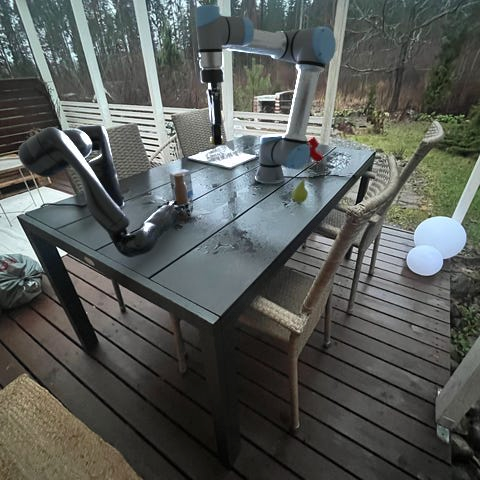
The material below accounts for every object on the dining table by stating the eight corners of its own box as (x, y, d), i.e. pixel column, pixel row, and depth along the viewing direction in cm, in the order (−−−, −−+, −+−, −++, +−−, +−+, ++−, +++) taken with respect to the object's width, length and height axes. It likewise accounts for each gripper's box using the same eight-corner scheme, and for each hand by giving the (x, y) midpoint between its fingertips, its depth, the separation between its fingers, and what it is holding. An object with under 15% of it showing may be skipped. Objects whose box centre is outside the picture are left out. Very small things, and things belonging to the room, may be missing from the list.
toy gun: (326, 156, 168) (314, 136, 164) (326, 158, 165) (313, 137, 161) (301, 172, 178) (289, 152, 174) (300, 174, 175) (288, 154, 171)
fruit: (288, 200, 123) (290, 174, 116) (302, 197, 125) (305, 172, 119) (296, 206, 118) (299, 179, 111) (310, 203, 120) (314, 177, 114)
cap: (218, 140, 103) (217, 134, 102) (225, 142, 100) (225, 136, 99) (208, 143, 101) (207, 137, 99) (215, 145, 98) (215, 139, 96)
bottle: (191, 217, 110) (187, 175, 100) (181, 220, 108) (175, 177, 98) (187, 213, 113) (181, 171, 104) (176, 216, 111) (170, 174, 101)
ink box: (187, 192, 132) (184, 168, 125) (193, 195, 129) (190, 170, 122) (172, 197, 127) (168, 172, 120) (178, 200, 124) (174, 175, 117)
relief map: (229, 168, 161) (229, 160, 158) (188, 158, 179) (187, 150, 176) (255, 158, 179) (255, 150, 177) (215, 150, 197) (215, 142, 194)
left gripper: (180, 212, 92) (200, 193, 105) (143, 207, 95) (168, 189, 109) (183, 231, 96) (202, 210, 110) (147, 225, 99) (170, 206, 113)
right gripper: (197, 68, 94) (204, 138, 107) (203, 69, 80) (210, 150, 93) (218, 67, 95) (223, 136, 108) (228, 68, 81) (231, 148, 94)
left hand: (185, 200), depth 109 cm, fingers closed on bottle, 4 cm apart
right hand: (217, 142), depth 100 cm, fingers closed on cap, 4 cm apart
